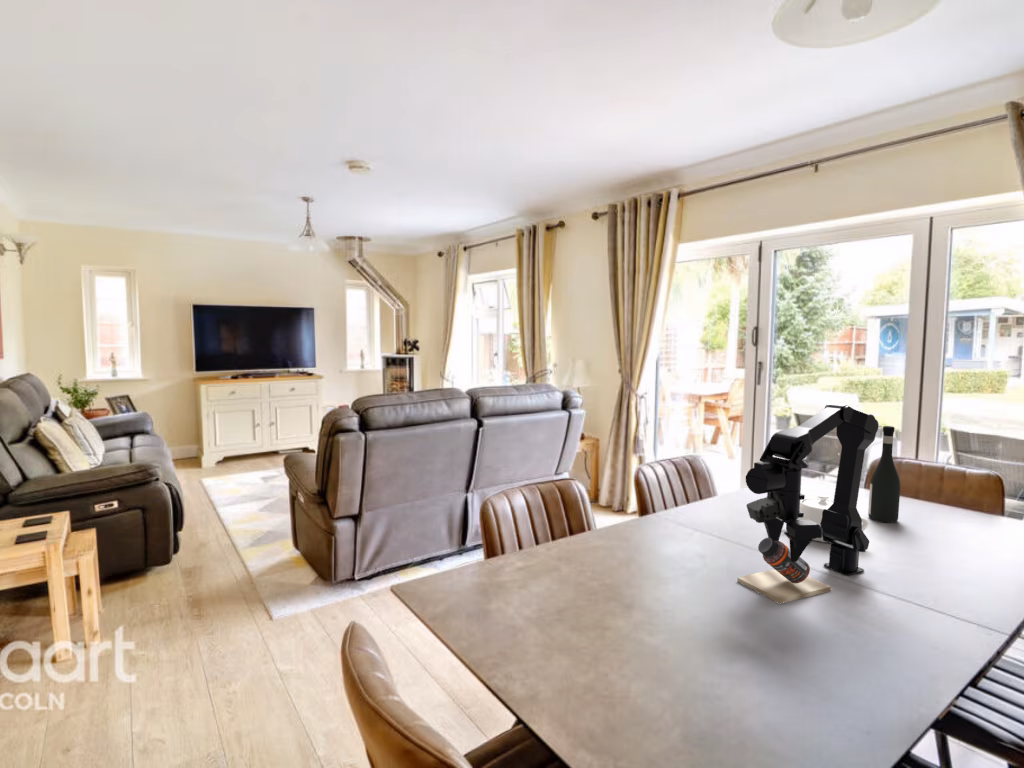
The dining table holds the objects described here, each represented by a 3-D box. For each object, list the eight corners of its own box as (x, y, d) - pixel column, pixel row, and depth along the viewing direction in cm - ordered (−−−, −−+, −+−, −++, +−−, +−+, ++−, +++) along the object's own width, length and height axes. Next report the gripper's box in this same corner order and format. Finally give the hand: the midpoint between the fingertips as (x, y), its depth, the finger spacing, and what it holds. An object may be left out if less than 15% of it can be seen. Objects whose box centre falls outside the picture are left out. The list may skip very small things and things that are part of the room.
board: (786, 570, 138) (786, 566, 138) (830, 590, 127) (830, 586, 127) (737, 581, 132) (737, 577, 131) (779, 603, 121) (779, 599, 120)
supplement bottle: (791, 589, 127) (755, 560, 126) (787, 569, 132) (752, 542, 131) (813, 577, 124) (777, 547, 123) (808, 557, 129) (772, 529, 128)
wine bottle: (862, 517, 178) (867, 425, 175) (877, 514, 181) (883, 423, 179) (888, 525, 171) (894, 429, 168) (903, 521, 174) (910, 427, 172)
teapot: (875, 542, 157) (878, 499, 156) (855, 555, 147) (858, 510, 146) (786, 519, 176) (788, 482, 175) (763, 529, 166) (765, 489, 165)
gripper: (732, 478, 135) (730, 540, 136) (775, 501, 116) (772, 572, 118) (776, 477, 136) (773, 539, 137) (825, 500, 117) (822, 571, 119)
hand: (783, 554), depth 128 cm, fingers open, 8 cm apart
